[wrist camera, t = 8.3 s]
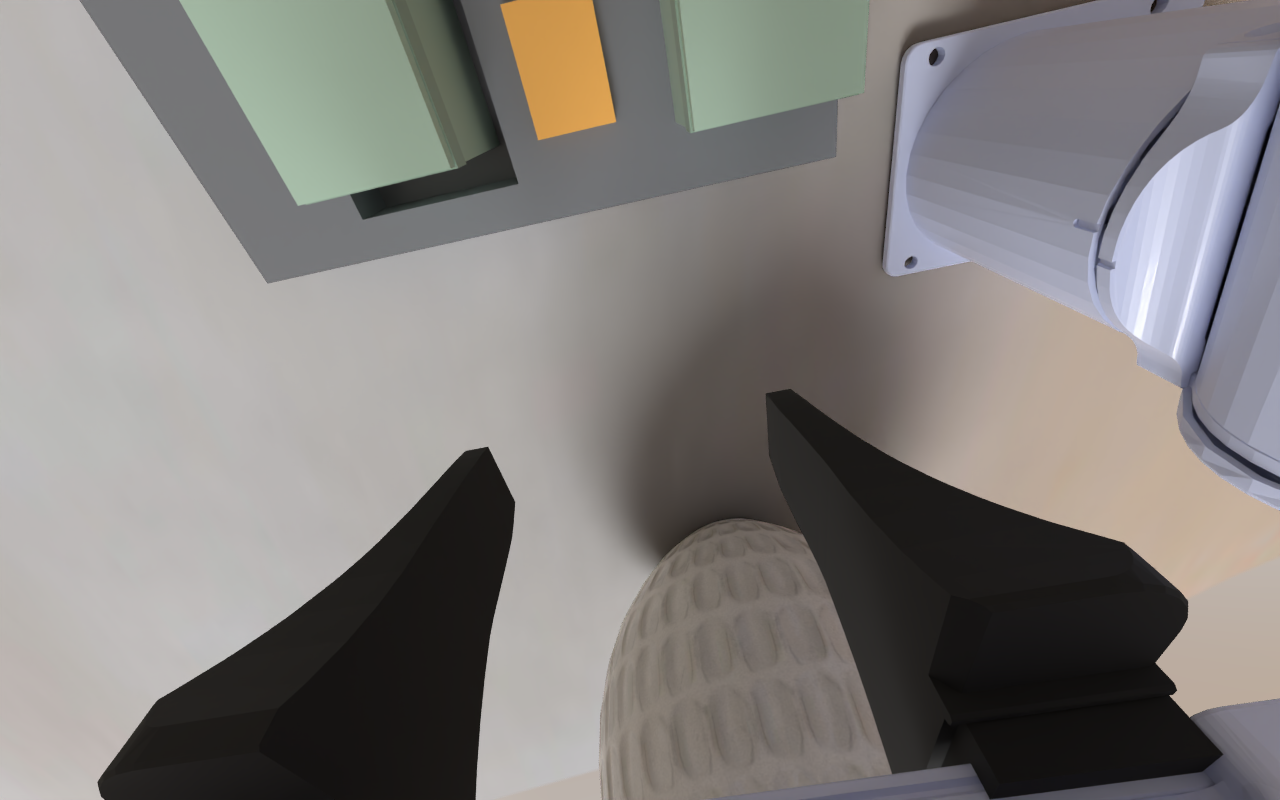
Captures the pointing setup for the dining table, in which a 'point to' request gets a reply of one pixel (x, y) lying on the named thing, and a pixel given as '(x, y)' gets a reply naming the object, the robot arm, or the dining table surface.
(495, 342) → the dining table surface
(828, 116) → the gray fixture base
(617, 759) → the vase
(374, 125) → the plug
